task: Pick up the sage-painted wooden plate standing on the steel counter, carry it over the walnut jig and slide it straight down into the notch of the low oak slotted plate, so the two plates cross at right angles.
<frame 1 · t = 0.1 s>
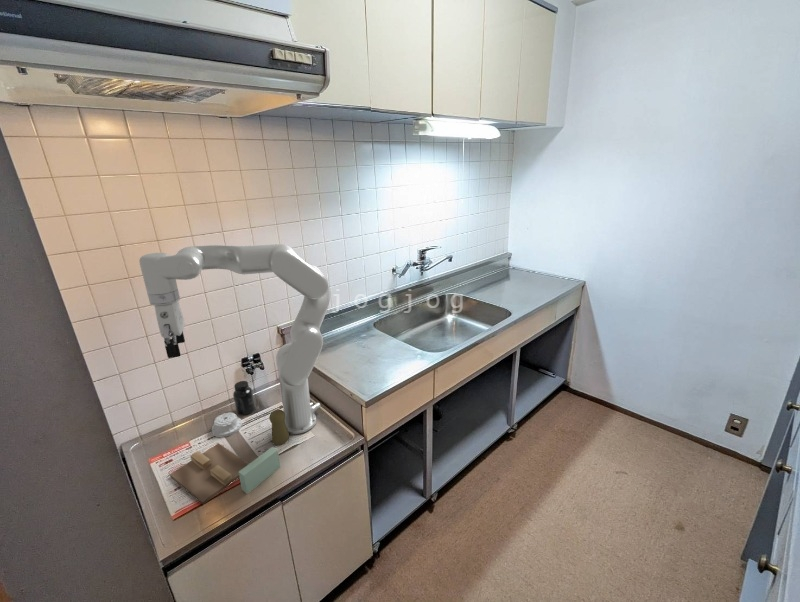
hand: (176, 349, 112), 37 cm above the counter, tool pointing down, fingers open, 9 cm apart
supplement bottle: (246, 410, 144), on the counter
cork: (280, 439, 129), on the counter
mechanical component: (227, 428, 135), on the counter
sage plate: (261, 478, 113), on the counter
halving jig: (211, 472, 115), on the counter
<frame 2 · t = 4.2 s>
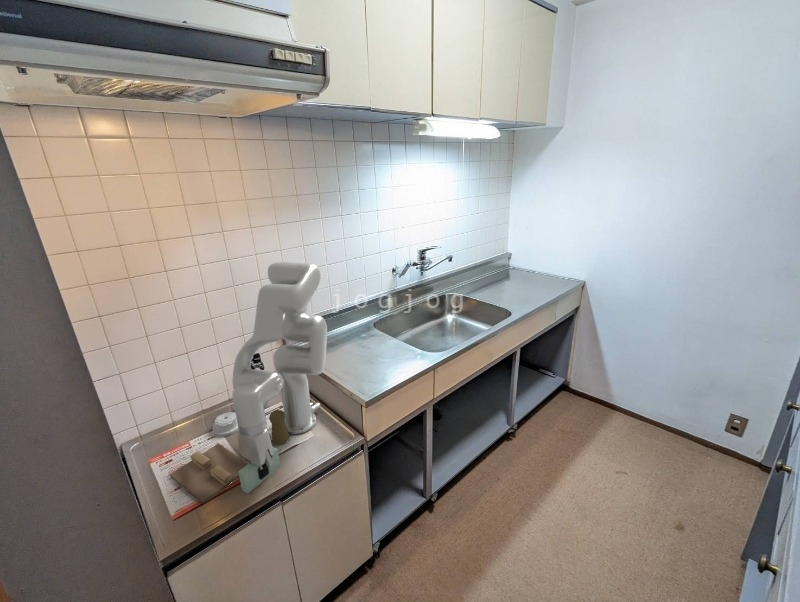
hand: (261, 473, 112), 2 cm above the counter, tool pointing down, fingers closed on sage plate, 2 cm apart
sage plate: (261, 478, 113), on the counter, touching gripper
everything else where it was.
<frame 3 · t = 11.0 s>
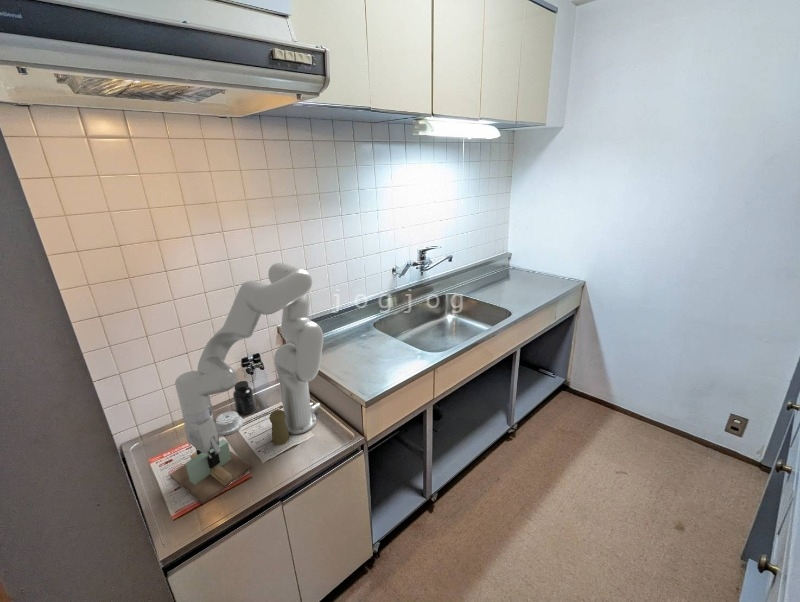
hand: (209, 461, 114), 4 cm above the counter, tool pointing down, fingers open, 4 cm apart
sage plate: (211, 470, 115), point 1 cm above the counter, touching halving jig
everything else where it was.
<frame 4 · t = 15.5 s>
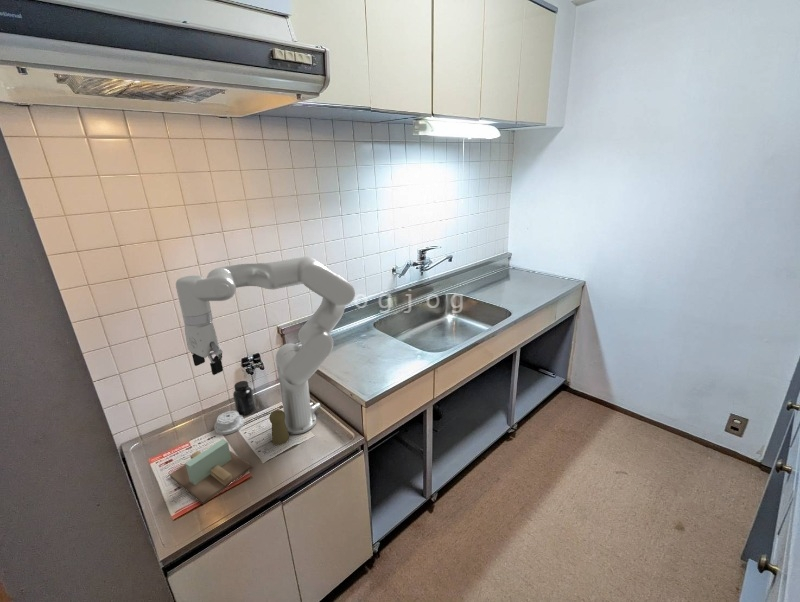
hand: (208, 368, 115), 30 cm above the counter, tool pointing down, fingers open, 9 cm apart
at the end: sage plate 0.1 cm off-centre on the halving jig, point 1.0 cm above the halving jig's base; sage plate tilted 0°; the gripper is holding nothing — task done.
